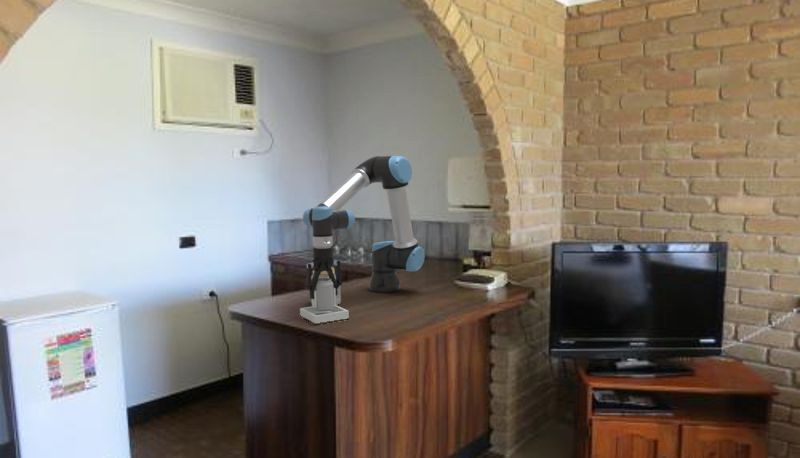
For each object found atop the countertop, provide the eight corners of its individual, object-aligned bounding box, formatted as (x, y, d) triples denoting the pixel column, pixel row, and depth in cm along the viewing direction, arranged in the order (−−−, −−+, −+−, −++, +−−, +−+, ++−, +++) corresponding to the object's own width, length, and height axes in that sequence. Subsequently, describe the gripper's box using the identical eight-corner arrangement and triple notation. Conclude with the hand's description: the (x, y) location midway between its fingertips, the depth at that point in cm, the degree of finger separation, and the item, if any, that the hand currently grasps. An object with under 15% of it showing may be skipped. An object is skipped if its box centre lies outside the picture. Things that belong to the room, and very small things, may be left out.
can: (330, 312, 206) (329, 281, 205) (311, 311, 207) (310, 280, 206) (336, 307, 213) (335, 277, 212) (318, 306, 215) (317, 276, 213)
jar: (346, 301, 238) (345, 261, 236) (333, 308, 226) (332, 266, 224) (319, 299, 242) (318, 260, 240) (305, 306, 230) (304, 264, 228)
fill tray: (300, 317, 213) (299, 308, 212) (332, 311, 220) (332, 303, 220) (315, 325, 201) (315, 316, 201) (348, 319, 209) (348, 310, 208)
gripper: (302, 250, 199) (303, 311, 201) (350, 246, 210) (351, 303, 213) (294, 247, 205) (295, 307, 208) (341, 243, 216) (342, 300, 219)
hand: (323, 305), depth 210 cm, fingers closed on can, 7 cm apart
